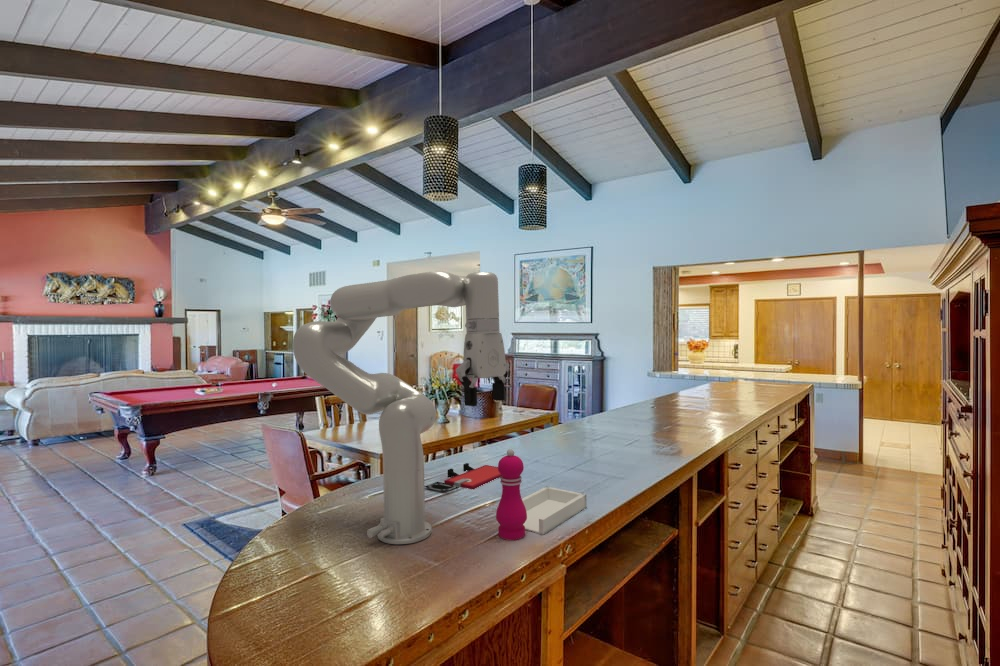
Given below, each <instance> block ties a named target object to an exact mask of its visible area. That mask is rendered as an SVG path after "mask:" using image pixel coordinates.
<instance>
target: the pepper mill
mask: <svg viewBox="0 0 1000 666" xmlns="http://www.w3.org/2000/svg"><path fill="white" fill-rule="evenodd" d="M497 467H498V471H499V473H500V474H501V475H502V476H501V477H500V478H499V479H500V481H499V483H500V484H501V488H502V490H501V496H500V500H499V503H498V506H497V508H496V512H495V514H496V515H495V519H496V522H497V523H498V524H499V526H498V527H497V528H498V536H499V538H501V539H504V540H507V539H508V540H507V541H512V540H513V541H515V540H516V539H517V540H520V539H523V538H524V537H525V535H526V530H525V526H524V525H523V524H524V523H525V521H526V520H527V512H526V508H525V505H524V503H523V501H522V496H521V488H520V487H521V484H522V481H523V480H522V478H523V477H522V475H521V474H522V473H523V472H524V468H525V467H524V462H523V460H522V459H521V457H519V456H518V455H515V450H514V449H513V448H509V449H507V451H506V455H504V456H503V457H501V458H500V459H499V461H498V464H497ZM522 537H523V538H522Z"/></svg>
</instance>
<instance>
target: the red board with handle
mask: <svg viewBox="0 0 1000 666" xmlns="http://www.w3.org/2000/svg"><path fill="white" fill-rule="evenodd" d="M462 467H463V469H462V470H463V473H460V474H459V473H457V472H454V468H448V469H447V479H445V480H444V481H443V482H441V481H435V482H433V483H430V484H427V485H424V488H426V489H431V490H435V491H440V492H444V493H446V492H449V491H450V490H452V489H460V488H464V489H467V488H468V490H472V489H473V490H475V488H476V489H477V487H478V488H480V487H482V486H484V485H483V484H485V483H487V484H488V482H489V483H491V482H493V481H495V480H494V479H496V478H498V479H500V478H499V477H501V476H502V475H501V474H500V473H499V471H498V466H494V465H489V464H484V465H482V466H479V467H477V468H473V467H471V466H470V463H468V462H465V463H463V466H462ZM466 470H468V471H466ZM465 471H466V472H465ZM451 476H453V477H451ZM449 477H450V478H449ZM492 480H493V481H492ZM496 480H497V479H496ZM490 481H491V482H490ZM481 485H482V486H481ZM485 485H486V484H485ZM479 486H480V487H479ZM456 487H457V488H456Z"/></svg>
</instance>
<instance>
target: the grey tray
mask: <svg viewBox="0 0 1000 666" xmlns="http://www.w3.org/2000/svg"><path fill="white" fill-rule="evenodd" d="M521 498H522V497H521ZM522 501H523V503H524V505H525V508H526V512H527V520H526V521H525V523H524V524H523V525H524V526H525V531H527V530H528V532H531V531H532V532H531V533H534V532H535V533H536V534H538V533H539V534H538V535H542V536H545V534H547V533H549V532H550V531H552V530H553V529H555V528H557V527H558V526H560V525H561V524H563V523H564V522H566V521H568V520H569V519H571V518H573V517H574V516H575V515H578V514H579V513H580V512H582V511H584V510H585V509H586V508H587V505H588V504H587V494H586V493H580V492H576V491H571V490H567V489H562V488H558V487H553V486H552V487H550V486H545V487H542V488H540V489H538V490H537V491H535V492H533V493H531V494H528V495H526V496H524V497H523V498H522ZM584 508H585V509H584ZM581 510H582V511H581ZM535 533H534V534H535Z"/></svg>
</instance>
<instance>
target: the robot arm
mask: <svg viewBox="0 0 1000 666" xmlns="http://www.w3.org/2000/svg"><path fill="white" fill-rule="evenodd" d="M498 279H499V278H498V276H497V274H495V273H493V272H487V271H478V272H471V273H468V274H466V276H465V275H464V276H462V275H457V274H453V273H451V272H448V271H443V270H442V271H441V270H435V271H427V272H420V273H411V274H406V275H402V276H398V277H394V278H392V279H386V280H379V281H374V282H373V281H372V282H365V283H356V284H351V285H344V286H342V287H339V288H337V289H336V290H334V292H333V293H332V294H331V296H330V300H329V301H330V302H329V303H330V304H329V306H330V309H331V311H332V312H333V314H334V315H335V316H336V317H337V319H336V320H335V321H326V320H325V321H322V320H321V321H319V320H317V321H311V322H307V323H305V324H302V325H301V326H299V328H297V329H296V331H295V332H294V334H293V337H292V353H293V355H294V359H295V360H296V363H297V365H298V366H299V368H300V369H301V370H302V371H303V373H304V374H305V375H307V377H309V378H311V380H314V381H315V382H316V383H317V384H320V386H322V387H324V388H325V389H327V390H328V391H330V392H331V394H333V395H334V396H336V397H337V398H339V399H340V400H341V401H343V402H344V403H346V404H347V405H348V406H350V407H351V408H352V409H354V410H355V411H356V412H358V413H360V414H362V415H373V414H377V413H380V412H381V413H380V416H379V419H378V431H379V436H380V442H381V449H382V451H381V452H382V472H383V473H382V479H383V481H382V482H383V516H382V518H381V517H380V519H379V520H380V521H379V522H380V523H378V524H377V525H376V526H373V527H371V528H368V529H367V531H366V535H367V537H368V538H370V539H372V538H374V537H377V539H378V540H379V541H381V542H383V543H385V544H389V545H407V544H414V543H418V542H420V541H421V542H422V541H424V540H425V539H427V538H428V537H429V536H430V535H431V534H432V533H433V532H432V531H433V528H432V525H431V523H430V522H428V521H426V516H425V515H426V510H425V509H426V507H425V506H426V505H425V504H426V503H425V501H426V499H425V498H426V497H425V456H424V455H425V454H424V449H423V448H424V447H423V443H422V438H421V434H423V433H425V432H428V430H429V429H431V428H432V427H433V425H434V424H435V423H436V419H437V409H436V406H435V405H434V403H433V402H432V400H431V399H430V398H429V397H427V396H426V395H424V394H423V393H422V392H420V391H419V390H418V389H415V388H414V387H413V386H411V385H410V384H408V383H407V382H405V381H404V380H403V379H401V378H400V377H398V376H396V375H394V374H391V373H387V372H378V373H369V372H367V371H365V370H364V369H362V368H360V367H359V366H357V365H356V364H354V362H352V361H350V360H348V359H346V358H344V357H342V356H340V355H342V354H345V353H347V352H349V351H350V350H352V349H353V348H354V347H356V345H357V343H358V342H359V341H360V339H362V337H363V336H364V334H366V332H367V331H368V330H369V329H370V327H371V326H372V325H373V324H374V322H376V320H377V318H382V317H384V318H385V317H392V316H398V315H400V314H401V312H403V311H405V310H409V309H417V308H418V309H419V308H425V307H434V306H435V307H437V306H442V307H447V308H458V307H464V306H465V325H464V326H465V328H466V329H465V331H466V332H465V336H464V341H463V343H464V344H463V359H462V360H463V362H462V363H461V364H459V365H458V367H456V369H455V373H456V375H457V378H458V379H457V380H458V381H459V382H460V384H461V387H462V388H463V395H464V396H463V398H464V399H463V401H464V403H463V404H464V406H466V407H476V406H477V405H478V393H477V392H478V391H477V387H475V386H476V384H477V382H478V380H479V379H490V378H491V379H492V381H493V383H491V389H492V390H491V391H492V400H493V401H501V402H502V401H505V399H506V395H505V394H506V393H505V391H506V390H505V384H506V382H507V378H508V375H509V370H510V363H509V362H508V361H507V360H506V352H505V344H504V339H503V335H502V332H500V308H499V307H500V306H499V305H500V303H499V280H498Z"/></svg>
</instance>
